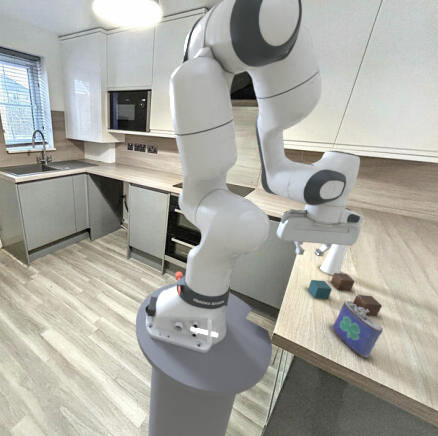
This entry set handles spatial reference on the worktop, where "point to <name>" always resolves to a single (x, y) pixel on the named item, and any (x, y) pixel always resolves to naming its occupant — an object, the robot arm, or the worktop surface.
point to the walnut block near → (368, 304)
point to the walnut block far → (342, 281)
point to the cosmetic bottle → (334, 259)
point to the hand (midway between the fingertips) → (308, 254)
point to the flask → (357, 329)
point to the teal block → (319, 289)
